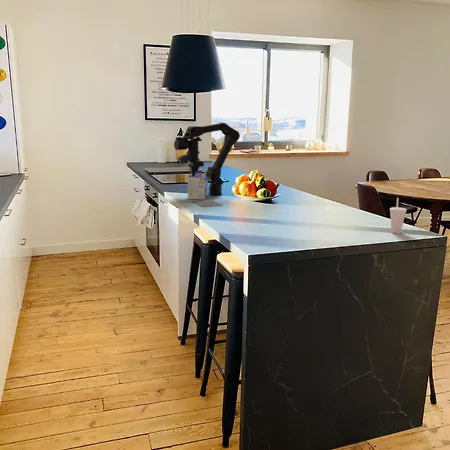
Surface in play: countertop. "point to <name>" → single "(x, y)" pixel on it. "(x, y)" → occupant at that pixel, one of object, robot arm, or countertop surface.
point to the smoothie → (397, 218)
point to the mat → (207, 203)
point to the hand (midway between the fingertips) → (193, 177)
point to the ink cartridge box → (197, 187)
